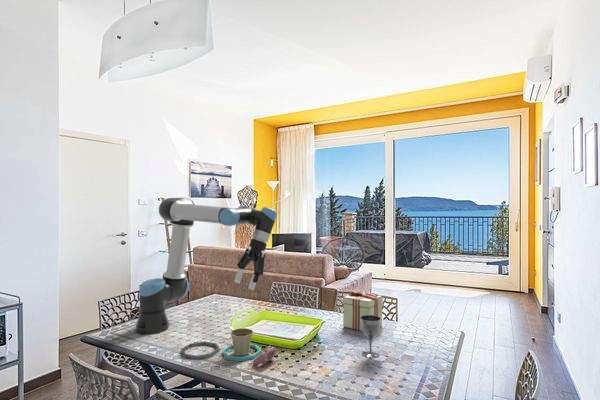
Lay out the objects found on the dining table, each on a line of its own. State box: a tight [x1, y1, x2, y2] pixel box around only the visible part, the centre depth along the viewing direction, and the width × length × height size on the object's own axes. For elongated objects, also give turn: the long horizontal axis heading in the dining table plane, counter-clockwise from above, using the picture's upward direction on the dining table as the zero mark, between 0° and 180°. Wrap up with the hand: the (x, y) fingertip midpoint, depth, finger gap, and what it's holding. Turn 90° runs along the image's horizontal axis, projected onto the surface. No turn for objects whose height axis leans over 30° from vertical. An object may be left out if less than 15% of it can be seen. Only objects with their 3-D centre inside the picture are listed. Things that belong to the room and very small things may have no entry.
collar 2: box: [221, 343, 262, 362], centre depth 153 cm, size 15×15×1 cm
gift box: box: [342, 289, 384, 332], centre depth 187 cm, size 17×18×17 cm
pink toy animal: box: [252, 345, 278, 367], centre depth 144 cm, size 10×5×7 cm, turn 150°
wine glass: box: [361, 315, 381, 359], centre depth 151 cm, size 8×8×15 cm
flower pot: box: [229, 327, 254, 357], centre depth 153 cm, size 9×9×9 cm
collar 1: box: [180, 340, 221, 360], centre depth 154 cm, size 15×15×1 cm
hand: (243, 286), depth 165 cm, fingers open, 13 cm apart
